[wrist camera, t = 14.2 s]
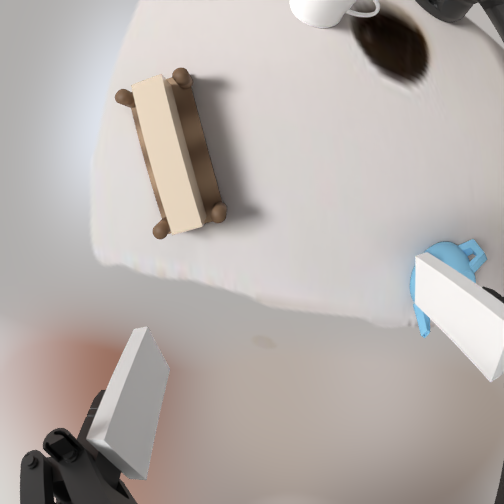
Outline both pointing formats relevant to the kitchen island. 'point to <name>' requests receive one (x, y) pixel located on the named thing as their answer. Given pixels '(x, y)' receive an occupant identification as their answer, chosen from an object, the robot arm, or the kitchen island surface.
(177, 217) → the beige long block
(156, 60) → the kitchen island surface
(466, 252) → the teapot
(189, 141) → the rack
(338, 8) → the mug
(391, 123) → the kitchen island surface
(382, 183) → the kitchen island surface
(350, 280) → the kitchen island surface
